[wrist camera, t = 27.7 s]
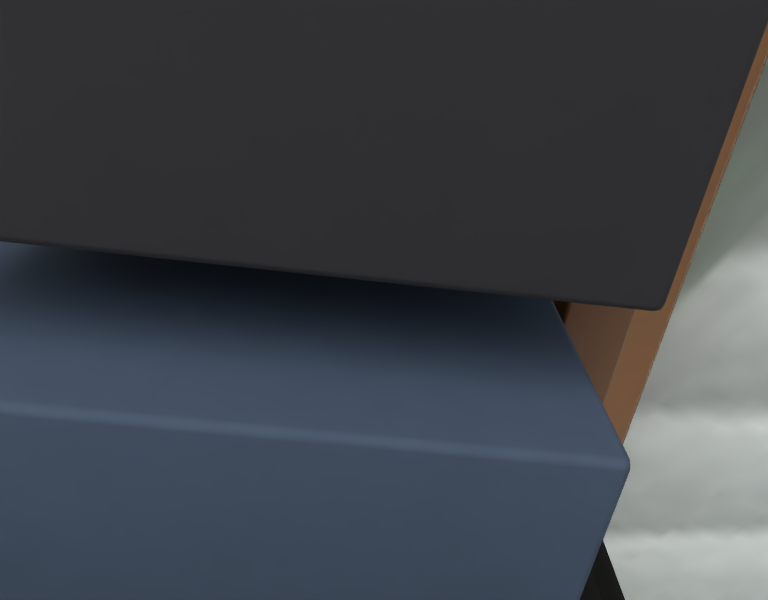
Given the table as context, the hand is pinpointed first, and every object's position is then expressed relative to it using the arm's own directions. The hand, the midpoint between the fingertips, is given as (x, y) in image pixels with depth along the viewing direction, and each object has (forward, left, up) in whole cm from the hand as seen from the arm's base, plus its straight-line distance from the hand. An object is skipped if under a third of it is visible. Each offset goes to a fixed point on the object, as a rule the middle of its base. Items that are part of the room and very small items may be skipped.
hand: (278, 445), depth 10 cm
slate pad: (0, 0, -1) cm, 1 cm away
